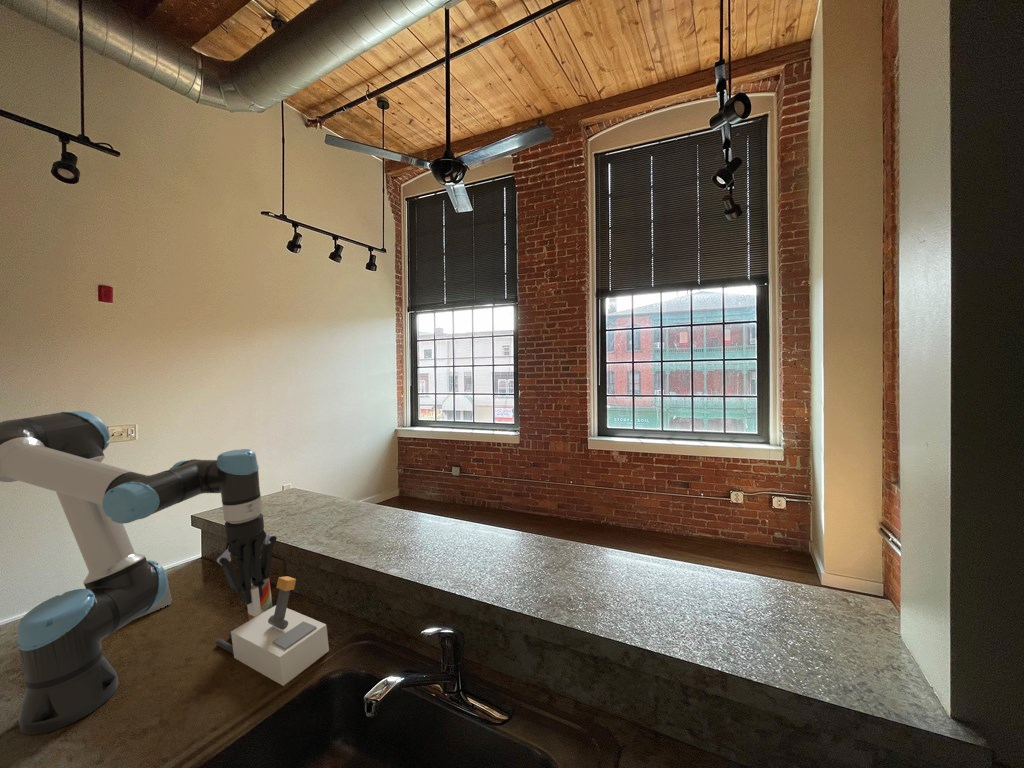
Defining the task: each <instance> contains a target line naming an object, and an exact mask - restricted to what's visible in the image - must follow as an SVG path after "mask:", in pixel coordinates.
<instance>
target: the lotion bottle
mask: <svg viewBox="0 0 1024 768" xmlns="http://www.w3.org/2000/svg"><path fill="white" fill-rule="evenodd" d="M260 562H261V556H260ZM249 570H250V564H249ZM250 579H251V573H250ZM263 582H264V585H263V586H262V592H263V595H262V597H261V598H260V607H261V614H262V613H263V612H265V611H267V610H269V609H270V608H272V607H273V601H272V591H271V583H270V577H269V578H268V579H265V580H264V581H263ZM251 584H252V585H253V583H252V581H251ZM247 615H248V621H250V620H251V619H253V618H255V617H257V616H258V615H257V616H255V617H254V616H252V615H250V614H248V613H247ZM259 615H260V614H259Z"/></svg>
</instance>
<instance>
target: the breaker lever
mask: <svg viewBox="0 0 1024 768" xmlns="http://www.w3.org/2000/svg"><path fill="white" fill-rule="evenodd" d="M296 581H297V579H296V578H294V577H291V576H286V575H285V576H281V577H280V576H279V577H278V579H277V584H276V587H275V588H276V589H278V595H277V600H276V604H275V605H276V608H275V613H274V615H272V616H271V617H270V618H269V620H268V623H269V624H271V625H273V626H275V627H277V628H279V629H281V630H284V629H285V628H286V627H287V626H288V621H286V620H284V618H285V613H286V609H287V608H288V602H289V599H290V594H291V591H292V590H295V586H296Z"/></svg>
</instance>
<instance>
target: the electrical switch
mask: <svg viewBox="0 0 1024 768" xmlns="http://www.w3.org/2000/svg"><path fill="white" fill-rule="evenodd" d="M172 600H173V599H172V595H171V590H170V585H169V584H168V585H167V590H166V593H165V594H164V597H163V598H162V600H161V601H160V602H159V603H158V604H156V605H155V606H154V607H152V608H151V609H150V610H149V611H147V612H146V613H145V614H143V615H140V616H139V617H137V618H135V619H134V620H137V619H139V618H142V617H144V616H146V615H148V614H151V613H154V612H156V611H158V610H161V609H163V608H166V607H168V606H170V605H172V602H173V601H172ZM167 605H168V606H167ZM165 606H166V607H165ZM160 608H161V609H160Z"/></svg>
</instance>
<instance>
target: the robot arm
mask: <svg viewBox="0 0 1024 768" xmlns="http://www.w3.org/2000/svg"><path fill="white" fill-rule="evenodd" d="M110 439H111V435H110V432H109V429H108V427H107V425H106V423H105V422H104V421H103V420H102V419H101V418H100V417H98V416H97V415H96V414H92V413H90V412H89V411H84V410H83V411H81V410H75V411H61V412H56V413H48V414H41V415H36V416H31V417H23V418H17V419H15V418H13V419H8V420H3V421H0V482H3V483H13V482H23V483H26V484H29V485H31V486H36V487H39V488H43V489H46V490H49V491H52V492H55V493H56V495H57V498H58V500H59V504H60V505H61V508H62V509H63V513H64V515H65V518H66V519H67V522H68V524H69V527H70V530H71V532H72V534H73V537H74V539H75V541H76V544H77V546H78V548H79V552H80V554H81V557H82V558H83V561H84V564H85V566H86V568H87V570H88V574H87V576H85V578H84V580H83V582H82V583H83V586H84V587H85V588H78V589H73V590H69V591H65V592H64V593H62V594H60V595H59V594H57V595H54V596H52V597H51V598H48V599H47V600H46V599H45V601H42V602H41V603H39V604H38V605H36V606H34V607H33V608H32V609H31V610H29V611H27V613H26V614H24V616H23V617H22V618H20V621H19V623H18V625H17V627H16V646H17V648H18V650H19V651H18V652H19V655H20V660H21V666H22V671H23V676H24V682H25V688H26V689H25V693H24V696H23V700H22V703H21V706H20V711H19V714H18V725H19V731H20V732H21V733H22V734H23V735H28V736H34V735H42V734H47V733H50V732H54V731H57V730H60V729H62V728H64V727H66V726H69V725H71V724H73V723H75V722H77V721H79V720H81V719H83V718H85V717H86V716H88V715H89V714H91V713H93V712H94V711H95V710H97V709H99V708H100V707H101V706H102V705H104V704H105V703H106V702H107V701H108V700H110V698H111V697H112V696H113V695H114V694H115V693H116V691H117V689H118V687H119V677H118V673H117V671H116V669H114V667H113V665H111V663H110V662H109V661H108V660H107V658H106V657H105V656H104V654H103V645H102V641H103V640H104V639H105V638H107V637H109V636H110V635H112V634H113V633H115V632H116V631H118V630H119V629H121V628H123V627H124V626H127V624H129V623H130V622H132V621H133V620H136V619H135V618H137V617H139V616H140V615H143V614H145V613H146V612H147V611H149V610H150V609H151V608H152V607H154V606H155V605H156V604H158V603H159V602H160V601H161V600H162V598H163V597H164V594H165V593H166V590H167V585H169V581H168V576H167V575H168V574H167V572H166V570H165V569H164V567H163V566H162V565H159V562H157V561H155V560H150V559H149V560H147V557H146V556H145V555H144V554H141V553H137V552H135V549H134V548H133V547H134V546H133V544H132V542H131V540H130V538H129V536H128V533H127V530H126V527H125V525H124V524H129V523H132V522H135V521H139V520H143V519H146V518H148V517H150V516H151V515H154V514H156V513H159V512H160V511H162V510H165V509H168V508H170V507H172V506H175V505H178V504H179V503H182V502H184V501H187V500H190V499H193V498H194V497H196V496H199V495H202V494H220V496H221V504H222V513H223V520H224V521H225V522H224V528H225V529H224V531H225V538H226V545H225V550H224V552H222V553H221V555H217V556H216V557H215V559H214V560H215V561H214V562H216V563H217V564H218V565H220V566H221V568H222V571H223V573H224V575H225V578H226V580H227V583H228V584H229V586H230V589H231V590H232V591H233V592H235V593H237V594H241V596H242V602H243V604H245V605H246V606H247V607H246V608H247V615H248V614H250V615H252V616H254V617H255V616H257V615H259V614H261V607H260V598H261V597H262V595H263V592H262V586H263V585H264V582H263V581H264V580H265V579H268V578H269V579H270V576H271V568H272V567H271V566H272V560H273V559H272V558H273V551H274V545H275V543H276V541H277V539H278V538H277V535H273V534H267V532H266V531H265V530H264V529H265V523H264V515H263V514H262V513H263V506H262V505H263V503H262V495H261V491H260V490H261V489H260V479H259V478H260V477H259V476H260V474H259V469H260V468H259V467H260V466H259V465H258V460H257V455H256V452H255V451H254V450H253V449H249V448H242V449H232V450H228V451H225V452H221V453H220V454H218V456H217V457H216V459H195V458H194V459H193V458H191V459H188V460H180V461H178V462H176V463H174V464H173V465H172V467H169V469H167V470H163V471H161V472H157V473H154V474H151V475H149V474H148V475H146V474H144V473H139V472H135V471H132V470H127V469H125V468H121V467H117V466H114V465H111V464H106V463H103V461H104V459H105V458H106V457H105V454H104V451H105V450H106V449H107V448H108V447H109V445H110V441H109V440H110ZM231 556H233V558H235V561H236V562H237V570H238V571H237V572H238V574H237V572H236V569H235V567H234V564H233V563H232V562H231V561H232V558H231ZM260 556H261V562H260ZM249 564H250V570H249ZM250 573H251V579H250ZM251 581H252V583H253V585H252V584H251ZM139 618H140V617H139ZM137 619H138V618H137Z"/></svg>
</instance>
